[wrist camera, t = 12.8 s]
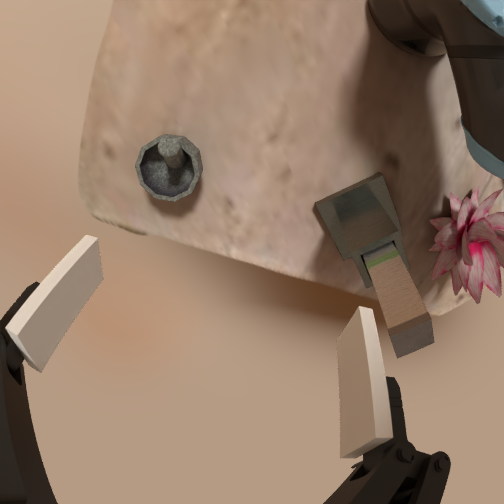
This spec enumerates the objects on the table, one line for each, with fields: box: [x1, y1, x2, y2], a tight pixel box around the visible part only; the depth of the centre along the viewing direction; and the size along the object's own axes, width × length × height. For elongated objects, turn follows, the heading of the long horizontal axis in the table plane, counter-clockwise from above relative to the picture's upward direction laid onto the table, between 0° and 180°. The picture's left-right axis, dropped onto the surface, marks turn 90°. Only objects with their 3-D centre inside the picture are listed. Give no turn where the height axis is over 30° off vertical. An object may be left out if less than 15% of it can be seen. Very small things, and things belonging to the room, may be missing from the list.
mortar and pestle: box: [135, 134, 203, 202], centre depth 38 cm, size 11×9×12 cm
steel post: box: [362, 241, 434, 358], centre depth 33 cm, size 4×4×20 cm
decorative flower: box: [429, 186, 504, 304], centre depth 39 cm, size 21×21×15 cm
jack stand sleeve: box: [315, 172, 410, 288], centre depth 41 cm, size 12×12×13 cm
